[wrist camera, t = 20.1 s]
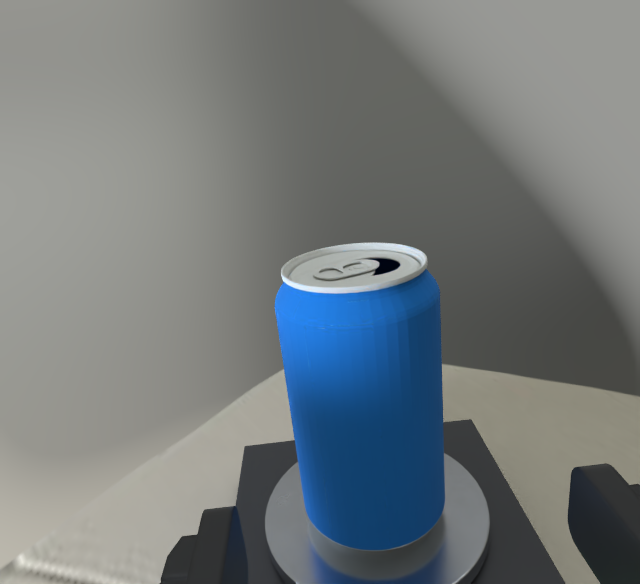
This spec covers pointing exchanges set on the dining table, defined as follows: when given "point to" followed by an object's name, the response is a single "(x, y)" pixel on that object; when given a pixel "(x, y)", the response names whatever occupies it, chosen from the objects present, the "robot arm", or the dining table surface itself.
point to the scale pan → (389, 565)
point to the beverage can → (365, 391)
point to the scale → (459, 443)
